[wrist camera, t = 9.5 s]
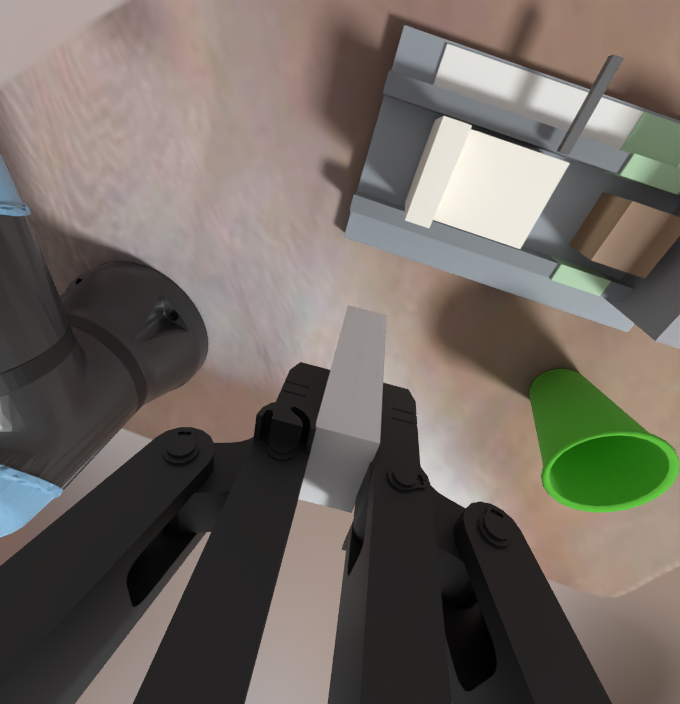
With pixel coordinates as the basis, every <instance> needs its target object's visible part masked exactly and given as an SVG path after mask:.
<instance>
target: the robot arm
mask: <svg viewBox="0 0 680 704" xmlns="http://www.w3.org/2000/svg"><path fill="white" fill-rule="evenodd" d="M30 214H31V212H30V209H29V207H28V205H26V204H25V203H24V202H22V200H21V197H20V195H19V193H18V191H17V189H16V186H15V184H14V182H13V180H12V178H11V175H10V173H9V171H8V169H7V167H6V165H5V162H4V160H3V158H2V156H1V154H0V537H2V536H5V535H8V534H11V533H13V532H15V531H16V530H18V529H20V528H21V527H23V526H24V525H25V524H27V523H28V522H29V521H30V520H31V519H32V518H33V517H34V516H35V515H36V514H37V513H38V512H39V511H40V510H41V509H43V508H44V507H45V506H46V505H47V504H48V503H49V502H50V501H51V500H52V499H53V498H56V497H58V496H60V495H61V493H62V492H63V490H64V489H65V488H66V487H67V486H68V485H69V484H70V483H71V482H72V481H73V479H74V478H75V477H76V476H77V475H78V474H79V473H80V472H81V471H82V470H83V469H84V467H86V466H87V464H88V463H89V462H90V461H91V460H92V459H93V458H94V457H95V456H96V455H97V454H98V453H99V452H100V451H101V449H102V448H103V447H104V446H105V445H106V444H107V443H108V442H109V441H110V440H111V439H112V437H114V435H115V434H116V433H117V432H118V431H119V430H120V429H121V428H122V427H123V426H124V425H125V424H126V423H127V422H128V421H129V419H130V418H131V417H132V416H133V415H134V414H135V413H136V412H137V411H138V410H139V409H140V408H141V407H142V406H143V405H144V404H146V403H148V402H150V401H152V400H154V399H156V398H158V397H160V396H161V395H163V394H165V393H167V392H169V391H171V390H174V389H176V388H178V387H180V386H182V385H184V384H185V383H186V382H188V381H189V380H190V379H191V378H192V377H193V376H194V375H195V373H196V372H197V371H198V370H199V369H200V368H201V366H202V365H203V363H204V361H205V359H206V356H207V351H208V337H207V331H206V328H205V325H204V322H203V320H202V317H201V316H200V314H199V312H198V310H197V308H196V307H195V305H194V304H193V303H192V301H191V300H190V299H189V298H188V296H187V295H186V294H185V293H184V292H183V291H182V290H181V289H180V288H179V287H178V286H177V285H175V284H174V283H173V282H172V281H170V280H169V279H168V278H166V277H165V276H163V275H161V274H160V273H158V272H156V271H154V270H152V269H150V268H148V267H145V266H142V265H139V264H135V263H130V262H110V263H105V264H102V265H100V266H98V267H95V268H93V269H91V270H88V271H86V272H84V273H82V274H81V275H80V276H78V277H77V278H76V279H75V280H74V281H73V282H72V283H71V284H70V285H69V287H68V288H67V290H66V292H64V293H63V294H62V295H61V296H60V297H59V295H58V292H57V290H56V287H55V285H54V282H53V280H52V277H51V275H50V272H49V270H48V267H47V265H46V262H45V260H44V257H43V255H42V252H41V250H40V247H39V245H38V242H37V240H36V237H35V235H34V232H33V230H32V227H31V225H30V222H29V220H28V217H27V216H28V215H30ZM385 334H386V315H383V314H379V313H375V312H372V311H368V310H364V309H360V308H356V307H353V306H349V305H348V308H347V312H346V316H345V319H344V323H343V327H342V330H341V334H340V338H339V341H338V345H337V349H336V352H335V356H334V359H333V363H332V367H331V370H328V369H324V368H321V367H317V366H313V365H309V364H305V363H302V362H300V363H299V364H297V365H296V366H295V367H293V368H292V369H291V370H290V371H289V373H288V376H287V378H286V380H285V383H284V385H283V387H282V389H281V392H280V394H279V396H278V398H277V400H276V402H274V403H270V404H268V405H266V406H264V407H263V408H262V409H261V410H260V411H259V412H258V414H257V416H256V424H255V432H254V437H253V438H251V439H248V440H245V441H242V442H234V443H213V441H212V438H211V437H210V436H209V435H208V434H207V433H205V432H204V431H203V430H199V429H196V428H192V427H179V428H176V429H172V430H168V431H166V432H164V433H163V434H161V435H159V436H158V437H156V438H155V439H154V440H152V441H151V442H150V443H149V444H148V445H146V446H145V447H144V448H143V449H142V450H141V451H139V452H138V453H137V454H135V455H134V456H133V457H132V458H131V459H129V460H128V461H127V462H126V463H125V464H123V465H122V466H121V467H120V468H119V469H117V470H116V471H115V472H114V473H113V474H111V475H110V476H109V477H108V478H106V479H105V480H104V481H103V482H102V483H100V484H99V485H98V486H97V487H96V488H94V489H93V490H92V491H91V492H89V493H88V494H87V495H86V496H85V497H83V498H82V499H81V500H80V501H79V502H78V503H76V504H75V505H74V506H73V507H71V508H70V509H69V510H68V511H66V512H65V513H64V514H63V515H62V516H60V517H59V518H58V519H57V520H56V521H54V522H53V523H52V524H51V525H50V526H48V527H47V528H46V529H45V530H44V531H42V532H41V533H40V534H39V535H38V536H36V537H35V538H34V539H33V540H31V541H30V542H29V543H28V544H27V545H25V546H24V547H23V548H22V549H20V551H18V552H17V553H16V554H14V555H13V556H12V557H11V558H10V559H8V560H7V561H6V562H5V563H4V564H2V565H1V566H0V704H75V703H76V701H77V700H78V699H79V697H80V696H81V695H82V694H83V692H84V691H85V690H86V688H87V687H88V686H89V684H90V683H91V682H92V680H93V679H94V678H95V677H96V675H97V674H98V673H99V671H100V670H101V669H102V668H103V666H104V665H105V664H106V662H107V661H108V660H109V658H110V657H111V656H112V655H113V653H114V652H115V651H116V649H117V648H118V647H119V645H120V644H121V643H122V642H123V640H124V639H125V638H126V636H127V635H128V634H129V632H130V631H131V630H132V628H133V627H134V626H135V624H136V623H137V622H138V621H139V619H140V618H141V617H142V615H143V614H144V613H145V611H146V610H147V609H148V608H149V606H150V605H151V604H152V602H153V601H154V600H155V598H156V597H157V596H158V595H159V593H160V592H161V591H162V589H163V588H164V587H165V586H166V584H167V583H168V582H169V580H170V579H171V578H172V576H173V575H174V574H175V572H176V571H177V570H178V569H179V567H180V566H181V565H182V563H183V562H184V561H185V559H186V558H187V557H188V556H189V554H190V553H191V552H192V550H193V549H194V548H195V546H196V545H197V544H198V543H199V541H200V540H201V539H202V537H203V536H204V535H205V533H206V532H211V534H210V536H209V539H208V541H207V543H206V545H205V547H204V550H203V552H202V554H201V556H200V558H199V561H198V563H197V565H196V567H195V569H194V572H193V574H192V576H191V578H190V580H189V583H188V585H187V587H186V589H185V591H184V593H183V595H182V598H181V600H180V602H179V605H178V606H177V609H176V611H175V613H174V615H173V618H172V619H171V622H170V624H169V626H168V628H167V630H166V633H165V635H164V637H163V639H162V641H161V643H160V646H159V648H158V650H157V652H156V654H155V657H154V659H153V661H152V663H151V665H150V668H149V670H148V672H147V674H146V677H145V679H144V681H143V683H142V685H141V687H140V689H139V692H138V694H137V696H136V698H135V700H134V702H133V704H245V700H246V696H247V692H248V688H249V685H250V681H251V677H252V673H253V669H254V666H255V661H256V658H257V654H258V650H259V646H260V643H261V639H262V635H263V631H264V628H265V624H266V620H267V616H268V612H269V609H270V604H271V601H272V597H273V593H274V589H275V586H276V582H277V578H278V574H279V570H280V567H281V563H282V559H283V555H284V551H285V548H286V544H287V540H288V536H289V532H290V528H291V524H292V521H293V517H294V513H295V509H296V506H297V501H298V499H300V500H304V501H308V502H312V503H316V504H320V505H324V506H327V507H331V508H336V509H339V510H343V511H346V512H350V513H352V510H353V508H354V505H355V511H354V520H353V522H352V525H351V527H350V529H349V532H348V534H347V536H346V539H345V541H344V544H343V547H342V550H346V557H345V566H344V573H343V582H342V591H341V598H340V607H339V615H338V623H337V632H336V640H335V649H334V656H333V664H332V673H331V681H330V689H329V698H328V704H612V703H611V701H610V699H609V697H608V695H607V693H606V692H605V690H604V688H603V686H602V684H601V682H600V680H599V678H598V676H597V674H596V673H595V671H594V669H593V667H592V665H591V663H590V661H589V659H588V658H587V655H586V653H585V652H584V650H583V648H582V646H581V644H580V642H579V640H578V639H577V636H576V634H575V633H574V631H573V629H572V627H571V625H570V623H569V621H568V619H567V618H566V616H565V614H564V612H563V610H562V608H561V606H560V604H559V602H558V600H557V598H556V596H555V595H554V593H553V591H552V589H551V587H550V585H549V583H548V581H547V579H546V577H545V576H544V574H543V572H542V570H541V568H540V566H539V564H538V562H537V560H536V559H535V557H534V555H533V553H532V551H531V549H530V547H529V545H528V543H527V541H526V540H525V538H524V536H523V534H522V532H521V530H520V529H519V527H518V526H517V525H516V523H515V522H514V520H513V519H512V518H511V517H510V516H508V515H507V514H506V513H505V512H504V511H503V510H501V509H499V508H498V507H496V506H494V505H492V504H489V503H484V502H476V503H471V504H470V505H469V506H468V507H467V508H466V509H465V508H464V507H462V506H460V505H458V504H457V503H455V502H453V501H451V500H449V499H448V498H446V497H444V496H443V495H441V494H440V493H438V492H437V491H436V490H435V489H434V488H433V487H432V486H431V485H430V482H429V479H428V476H427V475H426V474H425V472H424V471H423V470H422V468H421V466H420V456H419V443H418V429H417V416H416V402H415V400H414V398H413V397H412V395H411V393H410V391H409V390H408V389H405V388H401V387H397V386H393V385H390V384H386V383H383V374H384V354H385Z"/></svg>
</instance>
